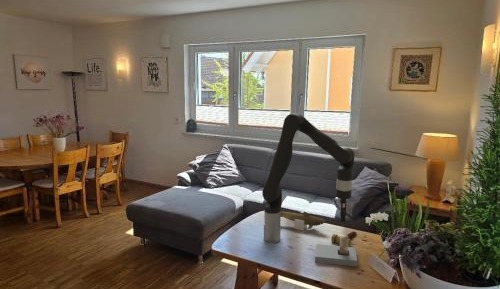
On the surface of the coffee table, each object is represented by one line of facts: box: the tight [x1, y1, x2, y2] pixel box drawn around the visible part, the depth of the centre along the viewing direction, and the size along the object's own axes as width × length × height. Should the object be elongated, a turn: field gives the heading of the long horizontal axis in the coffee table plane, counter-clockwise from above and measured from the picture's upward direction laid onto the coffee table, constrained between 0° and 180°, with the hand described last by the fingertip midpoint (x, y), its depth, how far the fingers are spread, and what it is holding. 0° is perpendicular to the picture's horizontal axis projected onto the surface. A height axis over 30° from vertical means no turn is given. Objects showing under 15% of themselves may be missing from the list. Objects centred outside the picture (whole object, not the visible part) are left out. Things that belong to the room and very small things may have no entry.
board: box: [314, 243, 358, 267], centre depth 165 cm, size 20×14×3 cm
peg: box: [339, 233, 348, 256], centre depth 164 cm, size 4×4×12 cm
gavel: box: [330, 231, 357, 247], centre depth 186 cm, size 21×5×10 cm
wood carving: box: [280, 209, 326, 231], centre depth 203 cm, size 9×35×11 cm, turn 61°
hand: (342, 218), depth 163 cm, fingers open, 8 cm apart
